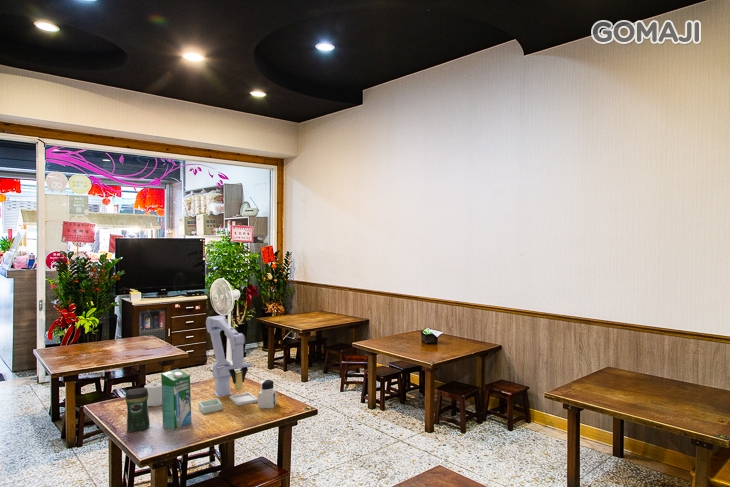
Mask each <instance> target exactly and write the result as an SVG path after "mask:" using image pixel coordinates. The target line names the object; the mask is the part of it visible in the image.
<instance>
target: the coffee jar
mask: <svg viewBox="0 0 730 487" xmlns="http://www.w3.org/2000/svg"><path fill="white" fill-rule="evenodd" d="M147 400H148V390H147V388H144V387H138V388H133V389H128V390H127V391H126V393H125V403H126V408H127V413H126V431H127V432H129V431H134V432H138V431H139V432H140V431H143V430H147V429H148V428H149V427H150V424H151V423H150V422H151V421H150V415H149V410H148V406H147Z"/></svg>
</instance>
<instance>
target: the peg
mask: <svg viewBox="0 0 730 487" xmlns="http://www.w3.org/2000/svg"><path fill="white" fill-rule="evenodd" d="M235 372H236V373H235V381H236V383H235V384H234V391H237V392H238V391H239V392H240V391H242V390H243V389H244V384H243V383H244V382H243V380H242V372H241V371H235Z"/></svg>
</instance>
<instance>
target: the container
mask: <svg viewBox="0 0 730 487" xmlns="http://www.w3.org/2000/svg"><path fill="white" fill-rule="evenodd" d="M274 386H275V385H274V381H273V380H271V379H264V380H262V381H260V391H259V392H258V393H257V399H258V402H257V407H258V409H273V408H275V406H276V405H277V402H278V398H277V396H278V394H277V391H278V390H277V388H275V387H274Z"/></svg>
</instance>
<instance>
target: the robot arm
mask: <svg viewBox="0 0 730 487" xmlns="http://www.w3.org/2000/svg"><path fill="white" fill-rule="evenodd" d="M205 325H206V326H205V327H206V330H207V333H209V335H210V340H211V343H212V348H213V353H214V357H215V363H214V364H213V365H212V367H211V368H212V377H213V378H214V380H215V382H214V383H215V391H214V392H213V394H214V395H215V396H217V397H218V398H221V397H225V396H232V395H233V393H232V392H231V379H232V383H233V384H234V385H235V383H236V381H235V373H236V372H237V371H236V370H240V372H242V380H243V383H245V379H246V375H247V372H248V370H249V368H252V367H253V363H252V362H245V361H244V345H245V342H246V336H245V335H244V333H242V332H240V333H239V332H238V331H237V330H236V329H235V327H234V326H230V325H229V323H228V322H227V318H226V316H225V315H224V314H221V315H215V316H214V315H213V316H208V317H206V320H205ZM221 331H224V335H225V336H226V338H227V339H228V340H229V344H230V350H231V355H232V356H231V357H232V358H231V359H232V360H231V361H232V362H230V361H229V360H226V356H225V352H224V346H223V342H222V339H221V335H220V334H221ZM244 362H245V363H244ZM231 363H232V364H231Z"/></svg>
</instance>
